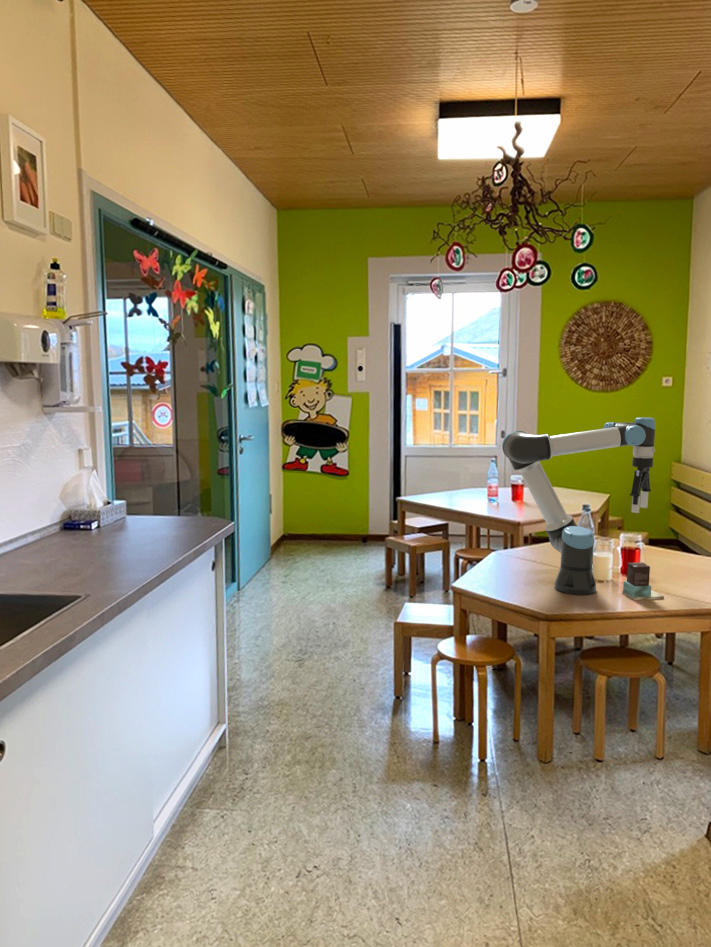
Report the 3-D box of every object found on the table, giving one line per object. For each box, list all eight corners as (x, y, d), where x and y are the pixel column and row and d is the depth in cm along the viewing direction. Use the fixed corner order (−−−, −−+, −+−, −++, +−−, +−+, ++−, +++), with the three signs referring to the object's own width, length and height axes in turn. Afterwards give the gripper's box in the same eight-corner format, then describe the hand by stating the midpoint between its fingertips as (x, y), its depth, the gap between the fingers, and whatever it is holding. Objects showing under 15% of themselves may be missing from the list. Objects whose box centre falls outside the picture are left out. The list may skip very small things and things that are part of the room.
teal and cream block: (633, 600, 260) (634, 587, 260) (622, 593, 268) (622, 580, 267) (663, 598, 262) (664, 585, 262) (651, 592, 270) (652, 579, 269)
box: (642, 581, 267) (643, 562, 266) (649, 586, 261) (650, 566, 260) (626, 581, 267) (627, 562, 266) (632, 585, 261) (634, 566, 260)
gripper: (645, 460, 267) (641, 516, 270) (660, 454, 288) (656, 506, 290) (624, 459, 271) (621, 513, 274) (640, 453, 292) (637, 504, 295)
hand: (639, 510), depth 282 cm, fingers open, 13 cm apart
